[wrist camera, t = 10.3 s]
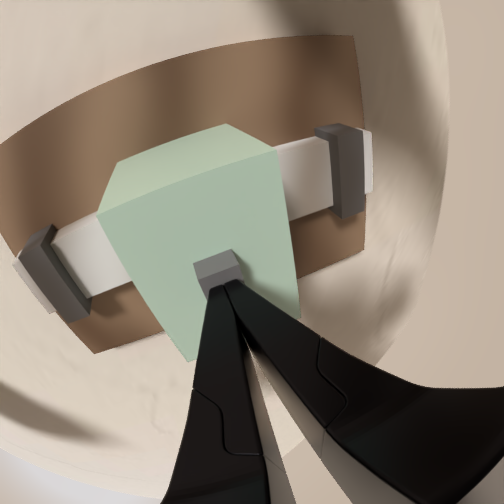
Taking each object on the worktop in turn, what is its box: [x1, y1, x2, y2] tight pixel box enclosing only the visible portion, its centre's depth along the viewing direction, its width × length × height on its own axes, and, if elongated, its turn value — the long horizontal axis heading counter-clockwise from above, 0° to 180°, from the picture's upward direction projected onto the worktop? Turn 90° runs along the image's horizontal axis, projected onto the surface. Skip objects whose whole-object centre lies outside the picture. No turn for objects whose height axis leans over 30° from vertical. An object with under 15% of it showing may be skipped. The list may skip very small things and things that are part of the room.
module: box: [96, 124, 301, 362], centre depth 11 cm, size 5×7×6 cm
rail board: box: [0, 35, 373, 354], centre depth 13 cm, size 20×14×4 cm
